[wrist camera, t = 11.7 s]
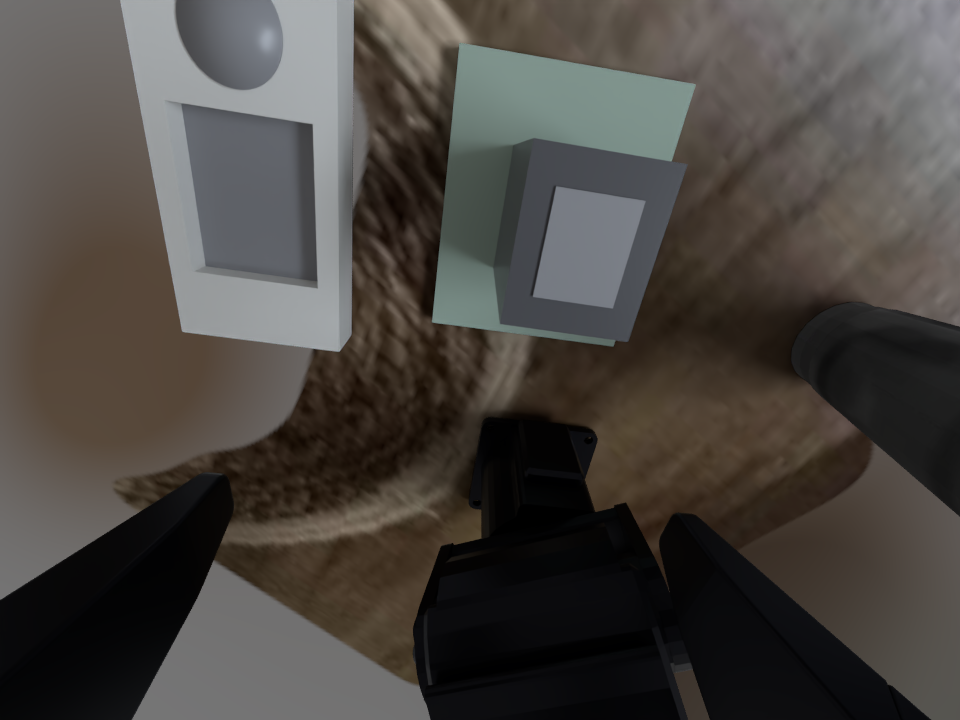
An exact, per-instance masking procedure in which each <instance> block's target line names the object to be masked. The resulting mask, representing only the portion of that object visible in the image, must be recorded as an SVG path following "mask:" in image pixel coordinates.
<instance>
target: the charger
mask: <svg viewBox="0 0 960 720" xmlns="http://www.w3.org/2000/svg"><path fill="white" fill-rule="evenodd" d="M687 165H688V164H683V163H677V162H671V161H665V160H660V159H654V158H648V157H642V156H636V155H630V154H625V153H619V152H613V151H607V150H601V149H595V148H590V147H584V146H578V145H572V144H566V143H560V142H554V141H549V140H543V139H537V138H532V139H529V140H526V141H523V142H521V143H518V144H515V145H513V151H512V157H511V163H510V169H509V175H508V181H507V188H506V194H505V200H504V206H503V212H502V218H501V224H500V230H499V236H498V242H497V248H496V254H495V260H494V267H493V270H494V278H495V287H496V296H497V304H498V313H499V322H500V324H503V325H510V326H517V327H524V328H532V329H539V330H546V331H553V332H560V333H567V334H574V335H581V336H588V337H595V338H603V339H610V340H617V341H624V342H628V340H629V338H630V335H631V332H632V329H633V326H634V323H635V320H636V317H637V314H638V311H639V308H640V305H641V302H642V299H643V296H644V293H645V290H646V287H647V284H648V281H649V278H650V275H651V272H652V269H653V266H654V263H655V260H656V257H657V254H658V251H659V248H660V245H661V242H662V239H663V236H664V233H665V230H666V227H667V224H668V221H669V218H670V215H671V212H672V209H673V206H674V203H675V200H676V197H677V194H678V192H679V189H680V186H681V183H682V180H683V177H684V174H685V171H686V168H687Z"/></svg>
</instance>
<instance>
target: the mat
mask: <svg viewBox="0 0 960 720" xmlns="http://www.w3.org/2000/svg"><path fill="white" fill-rule="evenodd" d="M695 85H696V84H691V83H685V82H679V81H674V80H668V79H662V78H657V77H651V76H645V75H640V74H634V73H628V72H623V71H617V70H611V69H606V68H600V67H594V66H589V65H583V64H577V63H572V62H566V61H560V60H555V59H549V58H543V57H538V56H532V55H526V54H521V53H515V52H509V51H504V50H498V49H492V48H487V47H481V46H475V45H470V44H464V43H460V44H459V54H458V65H457V75H456V85H455V95H454V105H453V115H452V125H451V136H450V146H449V156H448V166H447V176H446V186H445V197H444V207H443V217H442V227H441V237H440V247H439V258H438V268H437V278H436V288H435V298H434V308H433V319H432V322H433V323H441V324H448V325H456V326H463V327H471V328H478V329H486V330H493V331H501V332H508V333H516V334H523V335H531V336H538V337H546V338H553V339H561V340H568V341H576V342H583V343H591V344H598V345H605V346H613V347H614V343H615V340H610V339H603V338H595V337H588V336H581V335H574V334H567V333H560V332H553V331H546V330H539V329H532V328H524V327H517V326H510V325H503V324H500V322H499V313H498V304H497V296H496V287H495V278H494V270H493V267H494V260H495V254H496V248H497V242H498V236H499V230H500V224H501V218H502V212H503V206H504V200H505V194H506V188H507V181H508V175H509V169H510V163H511V157H512V151H513V145H515V144H518V143H521V142H523V141H526V140H529V139H532V138H537V139H543V140H549V141H554V142H560V143H566V144H572V145H578V146H584V147H590V148H595V149H601V150H607V151H613V152H619V153H625V154H630V155H636V156H642V157H648V158H654V159H660V160H665V161H671V162H672V158H673V155H674V152H675V149H676V146H677V142H678V139H679V136H680V133H681V130H682V127H683V123H684V120H685V117H686V114H687V111H688V107H689V104H690V101H691V98H692V95H693V91H694V88H695Z"/></svg>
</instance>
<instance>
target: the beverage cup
mask: <svg viewBox="0 0 960 720" xmlns="http://www.w3.org/2000/svg"><path fill="white" fill-rule="evenodd" d="M791 362H792V365H793V367H794V370H795V371H796V372H797V373H798V374H799V375H800V376H801V377H802V378H803V379H804V380H806V381H807V382H808V383H809V384H810V385H811V386H812V388H813V389H814V390H815V391H816V392H817V393H818V394H819V395H820V396H821V397H822V398H824V399H825V400H826V401H827V402H828V403H829V404H830V405H832V406H833V407H834V408H835V409H836V410H837V411H839V412H840V413H841V414H842V415H843V416H844V417H845V418H847V419H848V420H849V421H850V422H851V423H852V424H854V425H855V426H856V427H857V428H858V429H859V430H860V431H862V432H863V433H864V434H865V435H866V436H867V437H869V438H870V439H871V440H872V441H873V442H874V443H875V444H877V445H878V446H879V447H880V448H881V449H882V450H884V451H885V452H886V453H887V454H888V455H889V456H890V457H892V458H893V459H894V460H895V461H896V462H897V463H899V464H900V465H901V466H902V467H903V468H904V469H906V470H907V471H908V472H909V473H910V474H911V475H912V476H914V477H915V478H916V479H917V480H918V481H919V482H920V483H922V484H923V485H924V486H925V487H926V488H927V489H928V490H930V491H931V492H932V493H933V494H934V495H935V496H937V497H938V498H939V499H940V500H941V501H943V503H945V504H946V505H947V506H948V507H949V508H950V509H952V510H953V511H954V512H955V513H956V514H957V515H959V516H960V327H959V326H955V325H951V324H947V323H944V322H940V321H936V320H932V319H929V318H925V317H921V316H917V315H914V314H910V313H906V312H903V311H899V310H891V309H885V308H881V307H874V306H871V305H869V304H866V303H856V302H849V303H845V304H840V305H836V306H833V307H831V308H829V309H827V310H825V311H823V312H821V313H819V314H818V315H817V316H816V317H815V318H813V319H812V320H811V321H810V322H808V323H807V324H806V325H805V327H804V328H803V329H802V331H801V332H800V333H799V334H798V336H797V338H796V340H795V343H794V345H793V347H792V355H791Z"/></svg>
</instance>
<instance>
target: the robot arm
mask: <svg viewBox="0 0 960 720" xmlns="http://www.w3.org/2000/svg"><path fill="white" fill-rule="evenodd" d="M489 425H493V426H494V428H488V427H487V426H489ZM586 437H591V438H590V439H588V440H585V438H586ZM597 440H598V438H597V436H596V434H595V432H594V431H593V430H591V429H586V428H577V427H569V426H566V425H562V424H554V423H545V422H537V421H529V420H522V421H519V420H511V419H503V418H494V417H488V418H486V419H484V420H483V422H482V425H481V431H480V436H479V442H478V448H477V454H476V459H475V465H474V471H473V476H472V482H471V488H470V494H469V505H470V507H472V508H474V509H481V539H478V540H474V541H470V542H465V543H461V544H457V545H454V544H453V543H451V544H447V545H442V546H441V548H440V551H439V553H438V556H437V559H436V562H435V565H434V567H433V570H432V573H431V576H430V578H429V581H428V584H427V587H426V590H425V592H424V595H423V598H422V601H421V603H420V606H419V610H418V614H417V617H416V620H415V623H414V626H413V636H414V642H415V645H414V648H413V659H414V662H415V664H416V669H417V676H418V680H419V685H420V689H421V692H422V695H423V698H424V701H425V702H426V704H427V708H428V711H429V715H430V719H431V720H688V718H687V715H686V712H685V708H684V705H683V703H682V699H681V696H680V693H679V690H678V686H677V683H676V680H675V677H674V674H673V672H681V671H686V670H692V669H693V671H694V674H695V677H696V680H697V683H698V686H699V689H700V692H701V694H702V697H703V700H704V703H705V706H706V709H707V712H708V715H709V718H710V720H931V719H930V718H929V717H927V716H926V715H925V714H924V713H922V712H921V711H920V710H919V709H918V708H917V707H916V706H915V705H913V704H912V703H911V702H910V701H909V700H908V699H907V698H905V697H904V696H903V695H902V694H901V693H900V692H899V691H897V690H896V689H895V688H894V687H893V686H891V685H888V684H887V682H886V680H885V679H883V678H882V677H881V676H880V675H879V674H878V673H876V672H875V671H874V670H873V669H872V668H871V667H870V666H868V665H867V664H866V663H865V662H864V661H863V660H861V658H859V657H858V656H857V655H856V654H855V653H854V652H852V651H851V650H850V649H849V648H848V647H847V646H846V645H844V644H843V643H842V642H841V641H840V640H839V639H838V638H836V637H835V636H834V635H833V634H832V633H831V632H830V631H828V630H827V629H826V628H825V627H824V626H823V625H821V624H820V623H819V622H818V621H817V620H816V619H815V618H814V617H812V616H811V615H810V614H809V613H808V612H807V611H805V610H804V609H803V608H802V607H801V606H800V605H799V604H797V603H796V602H795V601H794V600H793V599H792V598H791V597H789V596H788V595H787V594H786V593H785V592H784V591H782V590H781V589H780V588H779V587H778V586H777V585H776V584H774V583H773V582H772V581H771V580H770V579H769V578H768V577H766V576H765V575H764V574H763V573H762V572H761V571H760V570H758V569H757V568H756V567H755V566H754V565H753V564H752V563H750V562H749V561H748V560H747V559H746V558H744V556H742V555H741V554H740V553H739V552H738V551H737V550H736V549H734V548H733V547H732V546H731V545H730V544H729V543H728V542H726V541H725V540H724V539H723V538H722V537H721V536H720V535H718V534H717V533H716V532H715V531H714V530H713V529H711V528H710V527H709V526H708V525H707V524H706V523H705V522H703V521H702V520H701V519H700V518H699V517H698V516H696V515H694V514H689V513H675V514H673V515H672V516H671V518H670V520H669V521H668V523H667V525H666V527H665V529H664V531H663V532H662V534H661V536H660V540H659V548H660V553H661V557H662V561H663V565H664V569H665V574H666V578H667V582H668V586H669V590H670V592H669V590H668V587H667V585H666V582H665V580H664V577H663V575H662V573H661V570H660V568H659V566H658V564H657V562H656V560H655V557H654V555H653V554H652V552H651V550H650V548H649V546H648V544H647V542H646V540H645V538H644V536H643V534H642V532H641V530H640V528H639V527H638V525H637V523H636V521H635V519H634V517H633V515H632V513H631V511H630V509H629V507H628V505H627V503H622V504H617V505H614V508H611V509H606V510H602V511H598V512H595V510H594V506H593V503H592V500H591V497H590V494H589V491H588V488H587V485H586V482H585V477H586V474H587V471H588V468H589V465H590V462H591V459H592V456H593V453H594V450H595V447H596V444H597ZM474 500H479V501H474ZM233 510H234V501H233V496H232V491H231V487H230V482H229V479H228V477H227V476H226V475H225V474H220V473H209V472H206V473H202V474H199V475H198V476H196V477H194V478H193V479H191V480H190V481H188V482H186V483H185V484H183V485H182V486H180V487H179V488H177V489H175V490H174V491H172V492H171V493H169V494H167V495H166V496H164V497H163V498H161V499H159V500H158V501H156V502H155V503H153V504H152V505H150V506H148V507H147V508H145V509H144V510H142V511H140V512H139V513H137V514H136V515H134V516H133V517H131V518H129V519H128V520H126V521H125V522H123V523H121V524H120V525H118V526H117V527H115V528H114V529H112V530H110V531H109V532H107V533H106V534H104V535H102V536H101V537H99V538H98V539H96V540H95V541H93V542H91V543H90V544H88V545H87V546H85V547H83V548H82V549H80V550H79V551H77V552H75V553H74V554H72V555H71V556H69V557H68V558H66V559H64V560H63V561H61V562H60V563H58V564H56V565H55V566H53V567H52V568H50V569H48V570H47V571H45V572H44V573H42V574H41V575H39V576H38V577H36V578H34V579H33V580H31V581H30V582H28V583H26V584H25V585H23V586H22V587H20V588H18V589H17V590H15V591H14V592H12V593H11V594H9V595H7V596H6V597H4V598H3V599H1V600H0V720H132V718H133V717H134V715H135V713H136V711H137V709H138V707H139V705H140V704H141V702H142V700H143V698H144V696H145V694H146V692H147V691H148V689H149V687H150V685H151V683H152V681H153V679H154V678H155V676H156V674H157V672H158V670H159V668H160V666H161V665H162V663H163V661H164V659H165V657H166V655H167V653H168V652H169V650H170V648H171V646H172V644H173V642H174V641H175V639H176V637H177V635H178V633H179V631H180V629H181V628H182V625H183V624H184V622H185V620H186V618H187V616H188V614H189V613H190V611H191V609H192V607H193V605H194V603H195V601H196V599H197V597H198V595H199V593H200V591H201V588H202V586H203V584H204V582H205V579H206V577H207V575H208V572H209V570H210V567H211V565H212V562H213V560H214V558H215V555H216V553H217V550H218V548H219V546H220V543H221V541H222V538H223V536H224V534H225V531H226V529H227V526H228V524H229V522H230V519H231V517H232V514H233Z"/></svg>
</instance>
